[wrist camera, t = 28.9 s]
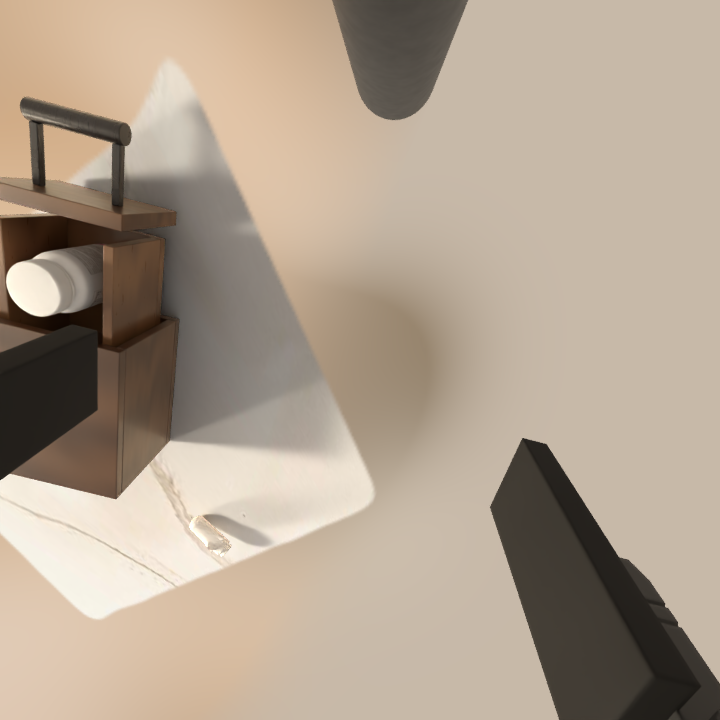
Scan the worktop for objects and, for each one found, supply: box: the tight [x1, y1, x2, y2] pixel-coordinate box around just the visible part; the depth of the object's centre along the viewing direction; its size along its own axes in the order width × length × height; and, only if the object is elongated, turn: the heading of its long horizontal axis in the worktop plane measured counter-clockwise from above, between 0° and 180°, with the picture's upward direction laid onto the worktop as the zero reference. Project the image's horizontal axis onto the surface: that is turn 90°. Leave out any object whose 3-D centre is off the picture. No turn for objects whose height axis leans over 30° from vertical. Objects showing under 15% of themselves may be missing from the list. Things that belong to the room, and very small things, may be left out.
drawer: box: [0, 97, 177, 347], centre depth 33 cm, size 19×10×8 cm, turn 166°
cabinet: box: [0, 315, 179, 499], centre depth 38 cm, size 15×12×10 cm
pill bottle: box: [6, 244, 107, 317], centre depth 33 cm, size 5×5×8 cm
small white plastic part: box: [190, 516, 232, 556], centre depth 48 cm, size 4×6×3 cm, turn 24°
